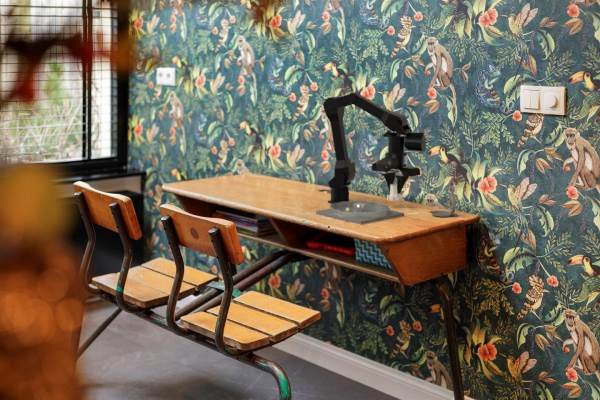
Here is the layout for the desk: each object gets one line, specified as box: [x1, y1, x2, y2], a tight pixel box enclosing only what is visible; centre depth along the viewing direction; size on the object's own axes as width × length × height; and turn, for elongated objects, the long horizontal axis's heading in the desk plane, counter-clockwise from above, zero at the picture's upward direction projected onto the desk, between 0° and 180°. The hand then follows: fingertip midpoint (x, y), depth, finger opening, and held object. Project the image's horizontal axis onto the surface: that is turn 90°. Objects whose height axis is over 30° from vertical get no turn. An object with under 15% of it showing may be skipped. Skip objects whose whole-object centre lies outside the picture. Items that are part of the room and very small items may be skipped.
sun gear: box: [353, 202, 367, 212], centre depth 277 cm, size 5×5×3 cm
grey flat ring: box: [329, 200, 391, 218], centre depth 278 cm, size 21×21×2 cm
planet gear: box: [386, 183, 403, 202], centre depth 289 cm, size 6×6×6 cm
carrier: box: [315, 207, 405, 225], centre depth 278 cm, size 22×22×3 cm
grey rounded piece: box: [431, 188, 457, 218], centre depth 277 cm, size 8×8×10 cm
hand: (394, 192), depth 289 cm, fingers closed on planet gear, 3 cm apart
